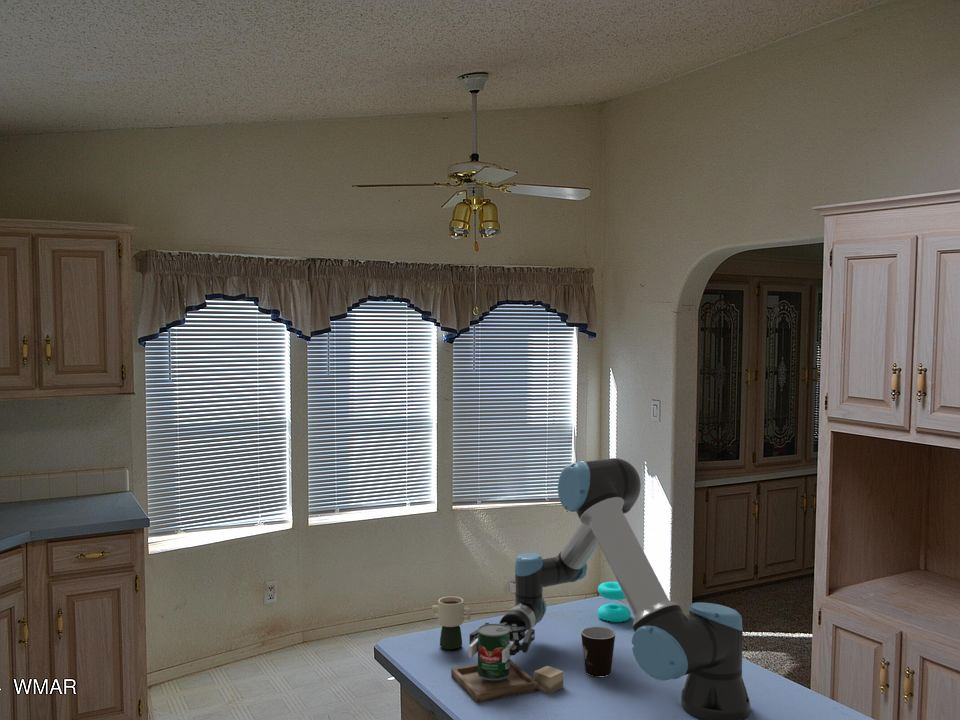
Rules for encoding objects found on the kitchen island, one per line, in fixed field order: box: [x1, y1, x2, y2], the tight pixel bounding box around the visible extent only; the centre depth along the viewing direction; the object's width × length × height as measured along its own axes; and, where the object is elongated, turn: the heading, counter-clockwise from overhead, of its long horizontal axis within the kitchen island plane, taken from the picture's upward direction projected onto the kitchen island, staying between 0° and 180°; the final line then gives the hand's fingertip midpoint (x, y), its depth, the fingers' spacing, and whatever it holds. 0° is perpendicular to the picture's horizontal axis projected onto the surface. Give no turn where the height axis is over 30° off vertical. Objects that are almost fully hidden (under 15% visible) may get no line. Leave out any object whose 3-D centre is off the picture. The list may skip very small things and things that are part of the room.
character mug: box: [431, 595, 471, 650], centre depth 219 cm, size 11×7×13 cm, turn 77°
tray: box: [450, 659, 539, 704], centre depth 196 cm, size 16×16×2 cm
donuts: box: [597, 581, 632, 623], centre depth 242 cm, size 10×10×10 cm
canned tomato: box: [477, 623, 511, 680], centre depth 195 cm, size 8×8×11 cm
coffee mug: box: [580, 626, 616, 677], centre depth 204 cm, size 12×9×10 cm
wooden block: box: [533, 665, 564, 694], centre depth 194 cm, size 5×5×4 cm
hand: (486, 654), depth 191 cm, fingers closed on canned tomato, 8 cm apart
